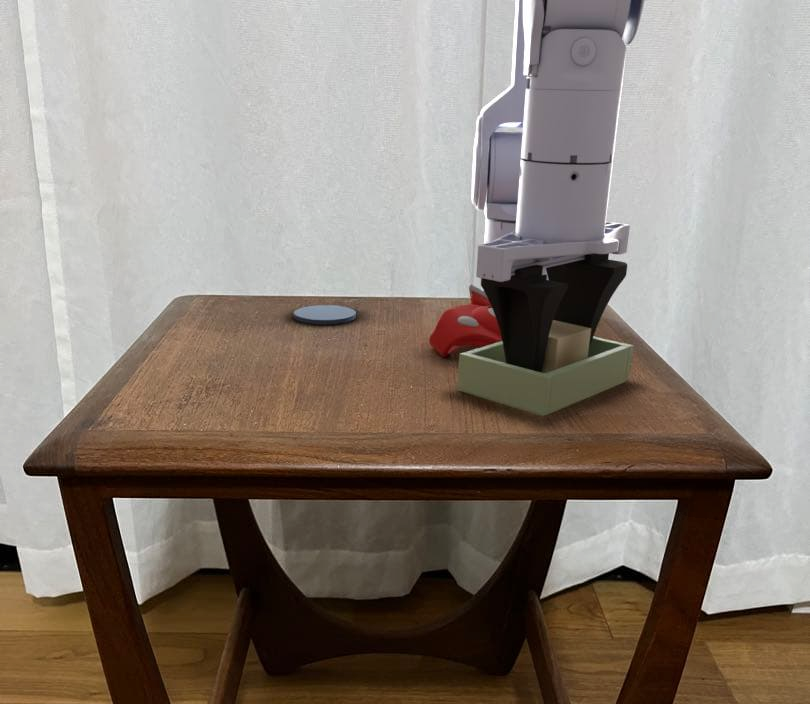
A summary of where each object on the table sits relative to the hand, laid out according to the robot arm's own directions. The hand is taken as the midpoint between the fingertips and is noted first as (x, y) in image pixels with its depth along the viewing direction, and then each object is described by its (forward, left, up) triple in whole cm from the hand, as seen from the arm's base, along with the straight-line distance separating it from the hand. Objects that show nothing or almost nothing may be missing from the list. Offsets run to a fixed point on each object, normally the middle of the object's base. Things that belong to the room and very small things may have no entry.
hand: (546, 371), depth 61 cm
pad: (-3, -26, -1) cm, 27 cm away
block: (0, 0, -1) cm, 1 cm away
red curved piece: (-6, -9, -2) cm, 11 cm away
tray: (0, 0, -1) cm, 1 cm away
